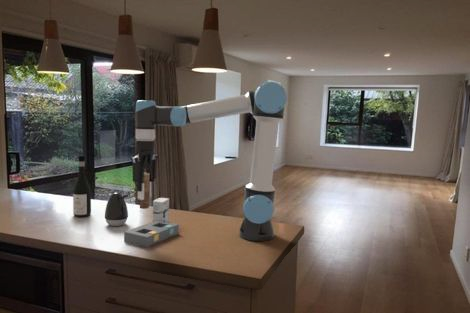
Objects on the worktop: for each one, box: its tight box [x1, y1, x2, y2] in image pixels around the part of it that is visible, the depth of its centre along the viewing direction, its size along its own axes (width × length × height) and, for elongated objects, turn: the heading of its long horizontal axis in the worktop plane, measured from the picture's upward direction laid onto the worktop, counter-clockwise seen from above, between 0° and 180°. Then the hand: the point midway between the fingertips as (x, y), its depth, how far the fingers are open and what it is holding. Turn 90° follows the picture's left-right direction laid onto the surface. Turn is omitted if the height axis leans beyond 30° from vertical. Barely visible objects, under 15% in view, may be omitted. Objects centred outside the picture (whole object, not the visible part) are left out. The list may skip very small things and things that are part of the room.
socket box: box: [123, 220, 179, 248], centre depth 154 cm, size 12×20×4 cm, turn 153°
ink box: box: [152, 197, 170, 223], centre depth 173 cm, size 8×5×12 cm, turn 168°
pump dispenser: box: [104, 191, 129, 227], centre depth 170 cm, size 10×10×15 cm
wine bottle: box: [72, 154, 92, 218], centre depth 182 cm, size 8×8×30 cm
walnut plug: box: [139, 172, 150, 210], centre depth 148 cm, size 4×4×14 cm
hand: (144, 198), depth 148 cm, fingers closed on walnut plug, 3 cm apart
